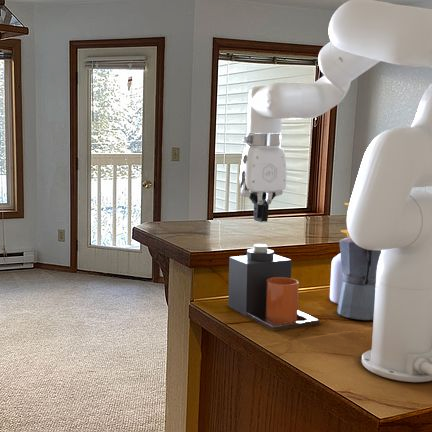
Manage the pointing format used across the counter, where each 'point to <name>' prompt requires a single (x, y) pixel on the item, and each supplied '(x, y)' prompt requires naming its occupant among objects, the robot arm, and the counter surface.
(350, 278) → the moka pot
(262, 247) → the brew button
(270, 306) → the cup
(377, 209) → the robot arm
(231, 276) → the grey box with dial
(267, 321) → the cup bay
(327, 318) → the counter surface
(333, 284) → the soap bottle
